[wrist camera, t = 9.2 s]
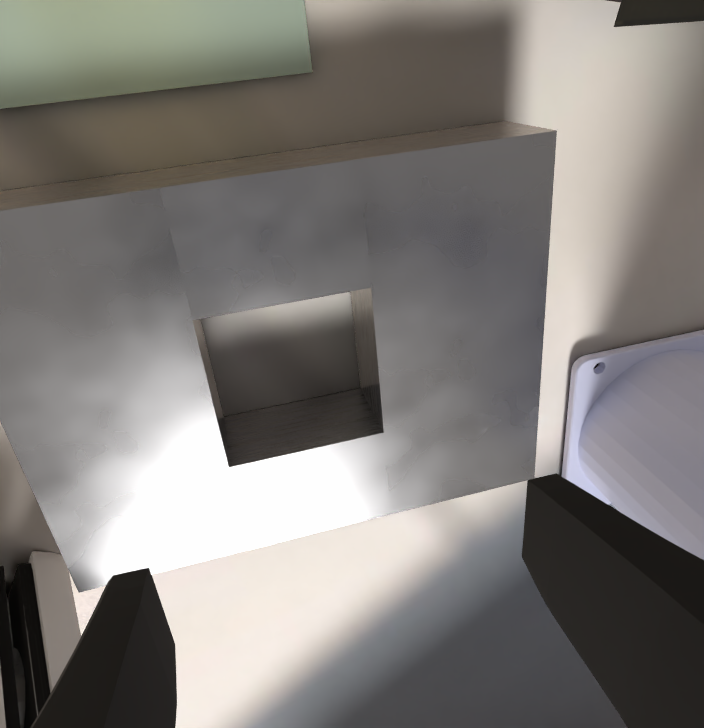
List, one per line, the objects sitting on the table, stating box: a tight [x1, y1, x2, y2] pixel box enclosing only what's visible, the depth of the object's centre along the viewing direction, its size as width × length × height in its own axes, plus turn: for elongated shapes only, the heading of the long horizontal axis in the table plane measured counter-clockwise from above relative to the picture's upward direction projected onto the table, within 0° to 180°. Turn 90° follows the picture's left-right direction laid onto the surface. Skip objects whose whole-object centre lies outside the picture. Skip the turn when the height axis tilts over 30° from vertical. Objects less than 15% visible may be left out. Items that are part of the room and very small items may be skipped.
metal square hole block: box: [0, 121, 557, 592], centre depth 19 cm, size 16×12×3 cm
